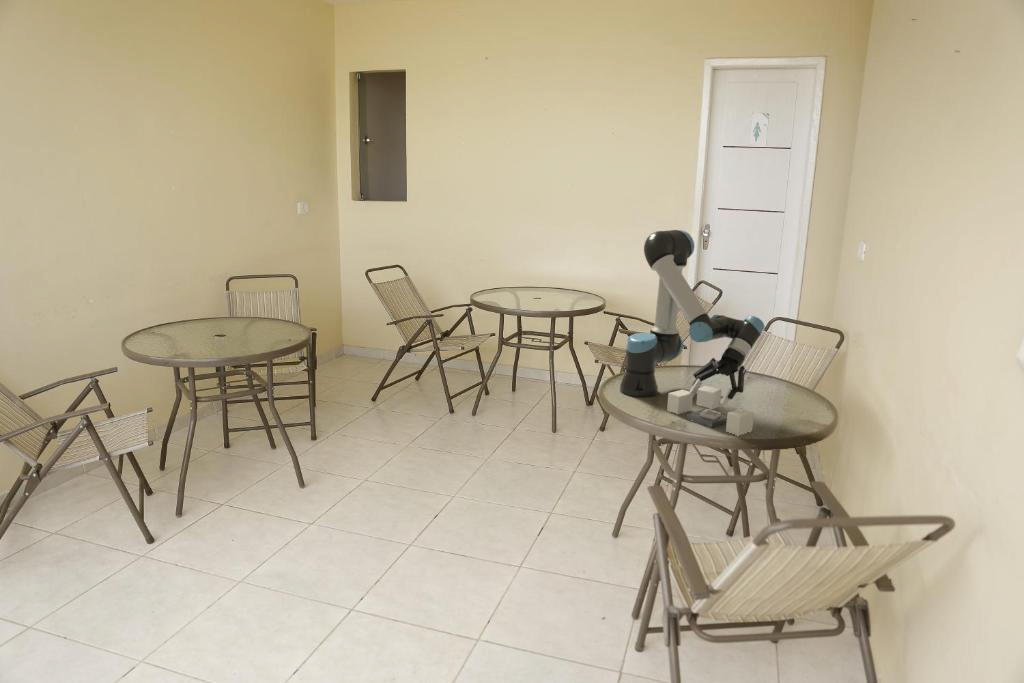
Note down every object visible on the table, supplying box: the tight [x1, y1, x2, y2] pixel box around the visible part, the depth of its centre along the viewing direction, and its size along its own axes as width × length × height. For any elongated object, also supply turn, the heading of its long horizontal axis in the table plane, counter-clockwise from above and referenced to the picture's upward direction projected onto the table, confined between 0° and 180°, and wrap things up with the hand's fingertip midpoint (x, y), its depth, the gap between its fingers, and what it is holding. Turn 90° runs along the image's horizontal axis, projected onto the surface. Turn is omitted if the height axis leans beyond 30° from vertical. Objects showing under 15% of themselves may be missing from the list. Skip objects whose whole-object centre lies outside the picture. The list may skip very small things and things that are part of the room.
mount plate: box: [686, 408, 727, 429], centre depth 248 cm, size 11×10×2 cm
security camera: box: [696, 385, 722, 420], centre depth 247 cm, size 6×7×10 cm
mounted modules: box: [666, 389, 755, 436], centre depth 247 cm, size 31×8×7 cm, turn 37°
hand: (706, 400), depth 245 cm, fingers open, 13 cm apart
